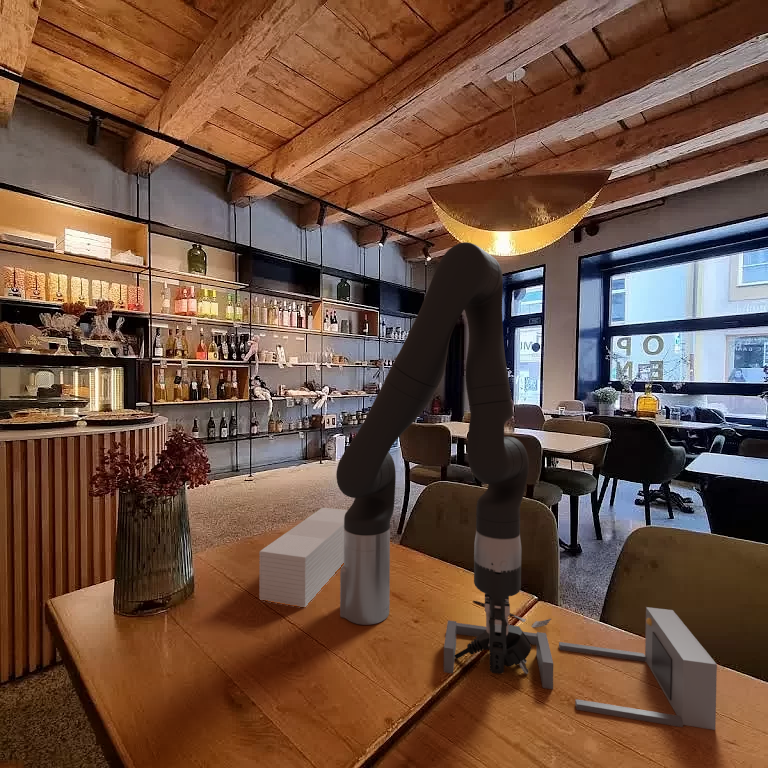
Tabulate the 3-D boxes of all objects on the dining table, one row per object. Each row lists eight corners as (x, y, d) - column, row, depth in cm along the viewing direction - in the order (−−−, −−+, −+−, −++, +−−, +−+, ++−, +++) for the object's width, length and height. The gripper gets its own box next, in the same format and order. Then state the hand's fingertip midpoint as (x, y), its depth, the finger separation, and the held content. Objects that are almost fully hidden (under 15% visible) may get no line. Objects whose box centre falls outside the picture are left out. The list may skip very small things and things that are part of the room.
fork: (475, 600, 93) (476, 591, 93) (551, 628, 83) (551, 618, 83) (470, 605, 91) (470, 596, 91) (547, 634, 81) (547, 624, 81)
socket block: (576, 709, 62) (577, 647, 62) (558, 646, 77) (559, 595, 77) (717, 733, 58) (718, 666, 58) (670, 661, 73) (671, 608, 73)
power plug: (453, 642, 76) (512, 609, 74) (478, 681, 75) (538, 649, 73) (452, 663, 71) (515, 628, 68) (479, 705, 70) (544, 671, 68)
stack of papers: (322, 545, 123) (322, 507, 122) (357, 549, 120) (358, 510, 119) (259, 601, 92) (259, 551, 92) (305, 609, 89) (305, 557, 89)
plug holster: (443, 672, 70) (443, 647, 70) (449, 629, 82) (449, 608, 82) (552, 689, 66) (553, 663, 66) (542, 642, 78) (542, 620, 78)
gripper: (475, 540, 79) (473, 632, 80) (473, 575, 65) (471, 686, 66) (517, 544, 78) (516, 638, 78) (525, 581, 64) (523, 695, 64)
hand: (496, 659), depth 72 cm, fingers closed on power plug, 5 cm apart
